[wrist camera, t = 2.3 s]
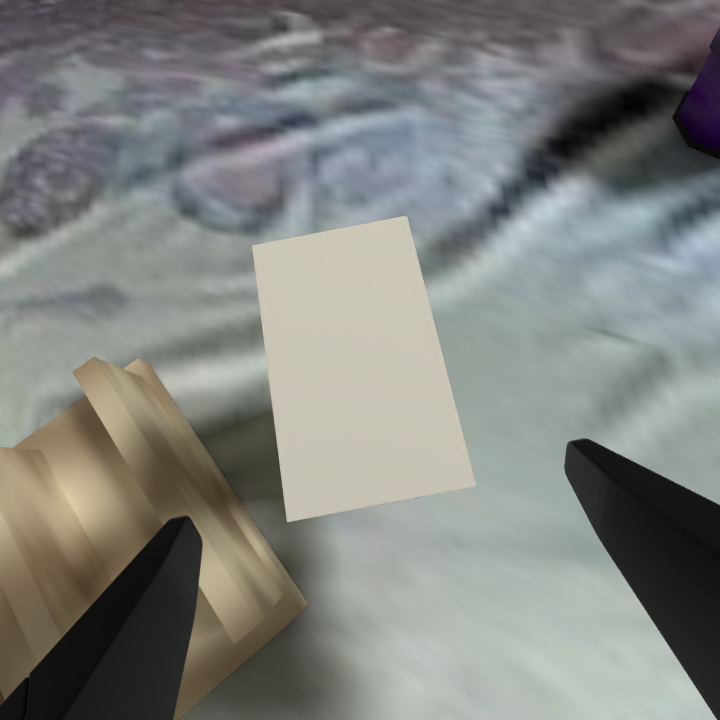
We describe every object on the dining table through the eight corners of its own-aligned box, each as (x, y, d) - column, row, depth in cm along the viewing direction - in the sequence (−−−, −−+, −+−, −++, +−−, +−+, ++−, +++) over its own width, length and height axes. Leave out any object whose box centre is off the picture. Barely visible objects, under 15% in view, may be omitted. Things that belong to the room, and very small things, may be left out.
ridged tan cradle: (308, 603, 18) (283, 644, 13) (-85, 943, 15) (-271, 1129, 11) (149, 363, 21) (89, 334, 17) (-191, 608, 19) (-365, 648, 14)
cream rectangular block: (413, 479, 19) (476, 485, 6) (350, 491, 19) (286, 522, 6) (391, 376, 20) (406, 215, 8) (332, 388, 20) (252, 245, 8)
